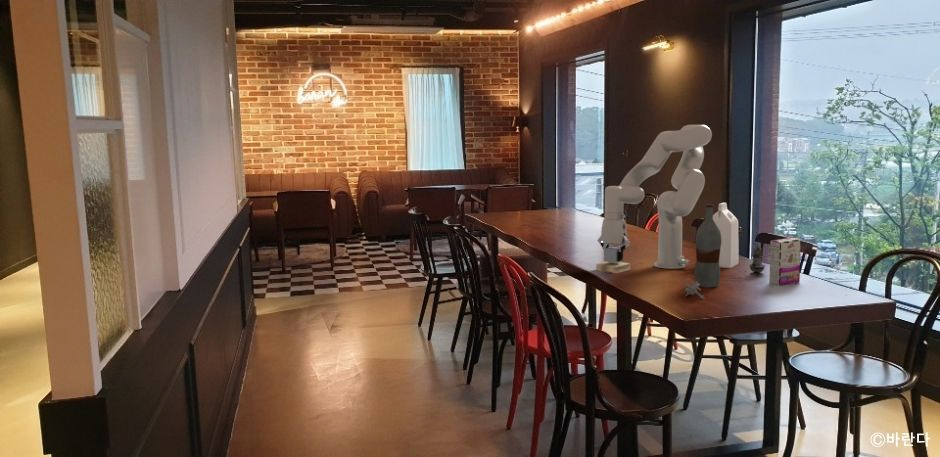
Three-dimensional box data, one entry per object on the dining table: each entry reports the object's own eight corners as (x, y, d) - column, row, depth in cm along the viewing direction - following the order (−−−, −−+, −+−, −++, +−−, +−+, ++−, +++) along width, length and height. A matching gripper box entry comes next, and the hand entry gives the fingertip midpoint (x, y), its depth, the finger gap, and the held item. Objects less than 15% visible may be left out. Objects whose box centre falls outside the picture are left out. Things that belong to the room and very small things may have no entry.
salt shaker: (765, 273, 285) (766, 243, 283) (764, 276, 279) (765, 246, 278) (749, 272, 287) (750, 242, 285) (748, 275, 282) (749, 245, 280)
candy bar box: (788, 280, 272) (790, 237, 270) (799, 282, 267) (802, 239, 265) (767, 283, 267) (769, 240, 264) (779, 286, 262) (781, 241, 260)
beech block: (630, 270, 297) (630, 263, 296) (616, 274, 290) (616, 267, 289) (610, 267, 304) (610, 260, 303) (596, 271, 297) (596, 263, 296)
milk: (711, 260, 313) (713, 201, 309) (738, 263, 306) (740, 202, 303) (702, 265, 303) (704, 204, 300) (730, 268, 297) (732, 205, 293)
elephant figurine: (704, 295, 251) (711, 291, 243) (694, 307, 251) (700, 304, 242) (682, 276, 253) (688, 272, 245) (671, 288, 253) (677, 284, 244)
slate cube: (622, 261, 296) (622, 248, 295) (615, 263, 292) (615, 249, 291) (611, 259, 300) (611, 246, 299) (603, 261, 296) (604, 248, 295)
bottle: (688, 283, 269) (690, 203, 264) (707, 281, 272) (710, 202, 268) (706, 288, 260) (708, 206, 256) (725, 286, 264) (728, 204, 259)
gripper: (637, 217, 290) (636, 261, 293) (601, 213, 302) (601, 256, 305) (627, 218, 285) (626, 263, 287) (591, 215, 297) (590, 258, 299)
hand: (613, 259), depth 296 cm, fingers closed on slate cube, 5 cm apart
